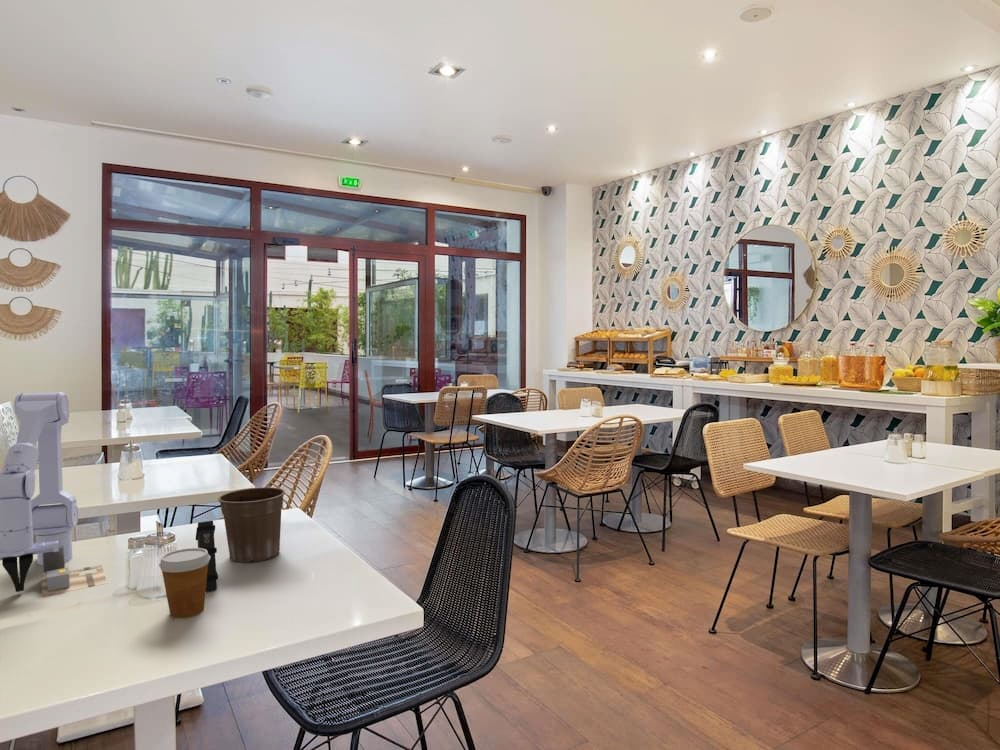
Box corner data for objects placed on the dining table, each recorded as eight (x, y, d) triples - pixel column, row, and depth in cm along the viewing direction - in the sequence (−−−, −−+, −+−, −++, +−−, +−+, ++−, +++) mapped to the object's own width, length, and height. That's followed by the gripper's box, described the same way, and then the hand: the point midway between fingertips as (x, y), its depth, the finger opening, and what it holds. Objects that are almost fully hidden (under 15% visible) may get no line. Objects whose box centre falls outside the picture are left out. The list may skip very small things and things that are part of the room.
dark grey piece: (44, 577, 150) (42, 547, 150) (64, 573, 152) (63, 544, 152) (44, 582, 147) (42, 552, 147) (65, 578, 149) (63, 548, 149)
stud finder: (47, 584, 145) (46, 570, 145) (68, 580, 148) (67, 566, 147) (47, 591, 141) (47, 577, 141) (69, 587, 143) (69, 573, 143)
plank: (41, 582, 151) (41, 575, 151) (101, 571, 158) (101, 564, 158) (42, 603, 139) (42, 595, 139) (107, 589, 146) (107, 582, 146)
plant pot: (205, 561, 164) (203, 498, 163) (252, 542, 179) (250, 485, 178) (255, 569, 158) (253, 504, 157) (300, 549, 173) (298, 489, 172)
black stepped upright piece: (200, 591, 140) (196, 522, 145) (198, 598, 151) (195, 533, 156) (219, 587, 142) (214, 519, 147) (216, 594, 153) (212, 531, 158)
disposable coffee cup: (161, 625, 127) (158, 565, 126) (161, 608, 135) (158, 551, 135) (214, 615, 131) (211, 557, 131) (211, 599, 140) (208, 544, 139)
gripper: (-29, 539, 132) (-25, 604, 133) (57, 526, 141) (60, 587, 141) (-27, 531, 138) (-23, 593, 138) (56, 519, 146) (59, 578, 147)
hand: (19, 590), depth 140 cm, fingers closed
